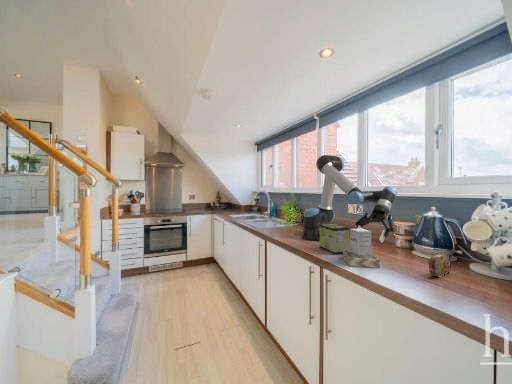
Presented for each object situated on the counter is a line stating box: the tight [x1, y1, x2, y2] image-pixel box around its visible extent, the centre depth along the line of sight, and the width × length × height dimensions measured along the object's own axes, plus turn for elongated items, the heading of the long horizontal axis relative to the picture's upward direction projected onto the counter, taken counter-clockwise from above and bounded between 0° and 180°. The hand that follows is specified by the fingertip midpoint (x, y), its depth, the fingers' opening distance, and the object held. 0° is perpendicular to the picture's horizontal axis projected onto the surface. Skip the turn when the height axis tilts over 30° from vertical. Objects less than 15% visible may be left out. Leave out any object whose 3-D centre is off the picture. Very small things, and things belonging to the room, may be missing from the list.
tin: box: [428, 253, 452, 278], centre depth 90 cm, size 15×3×8 cm, turn 117°
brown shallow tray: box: [342, 249, 381, 269], centre depth 107 cm, size 14×14×4 cm
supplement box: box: [349, 227, 372, 256], centre depth 106 cm, size 7×7×13 cm
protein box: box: [319, 223, 350, 255], centre depth 127 cm, size 10×16×16 cm
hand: (367, 238), depth 110 cm, fingers open, 13 cm apart
